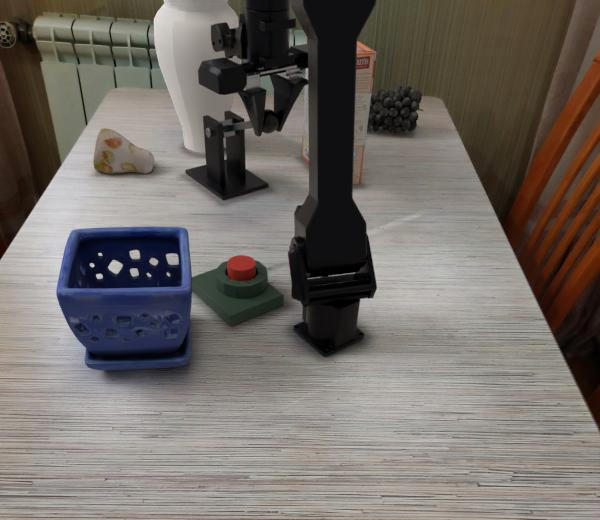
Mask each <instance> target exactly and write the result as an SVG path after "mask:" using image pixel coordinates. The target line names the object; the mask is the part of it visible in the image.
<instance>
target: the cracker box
mask: <svg viewBox="0 0 600 520" xmlns="http://www.w3.org/2000/svg"><path fill="white" fill-rule="evenodd" d="M306 44H308V39H307V38H306ZM376 59H377V51H375V50H374V49H372V48H371V47H369V46H367V45H365V44H364V43H362V42H361V41H359V40H357V62H356V95H355V128H354V161H353V185H359V184H361V183H362V182H361V181H362V175H363V167H364V159H365V157H364V156H365V149H366V140H367V134H368V133H367V132H368V128H367V126H368V117H369V109H370V101H371V95H372V91H373V83H374V77H375V76H374V75H375V67H376ZM304 78H305V79H308V68H305V75H304ZM303 96H304V97H303V117H302V119H303V120H302V134H301V135H302V140H301V157H302V158H303V159H304V160H305V161H306V163H308V164H309V117H308V85H305V86H304V95H303Z"/></svg>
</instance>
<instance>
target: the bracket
mask: <svg viewBox="0 0 600 520" xmlns="http://www.w3.org/2000/svg"><path fill="white" fill-rule="evenodd" d="M224 115H225V120H229V119H232V120H233V124H235V123H240V122H245V118H243V117H242V116H240V115H238V114H236V113H235V112H233V111H232V110H231V111H230V110H229V111H224ZM203 126H204V140H205V153H204V154H205V164H203V165H199V166H195V167H192V168H187V169H185V170H184V171H185V174H186V175H187V176H188V177H190V178H191V179H192V180H194V181H195V182H197V183H198V184H200V185H201V186H202V187H204V188H205V189H207V190H208V191H209V192H210V193H212V194H213V195H214V196H216V197H218V198H219V199H220V200H222V201H226V200H228V199H233V198H235V197H239V196H243V195H246V194H250V193H253V192H256V191H260V190H263V189H266V188H269V183H268V182H267V181H265V180H264V179H262V178H261V177H260V176H258V175H256V174H254V173H253V172H251V171H250V170H249V169H247V168H246V167H247V166H246V134H245V133H246V131H245V130H246V129H243V130H237V131H235V134H236V135H234V136H230V137H226V148H224V140H223V124H222V123H221V122H219V121H217V120H215V119H214V118H212V117H210V116H209V115H206V116H203ZM225 153H226V155H225ZM225 157H226V159H225Z"/></svg>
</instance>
